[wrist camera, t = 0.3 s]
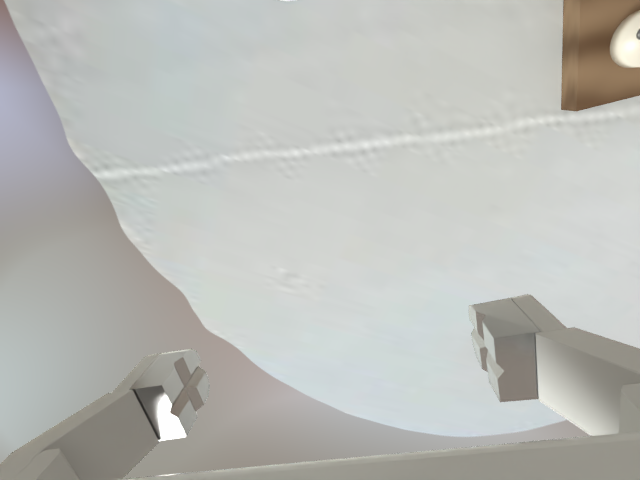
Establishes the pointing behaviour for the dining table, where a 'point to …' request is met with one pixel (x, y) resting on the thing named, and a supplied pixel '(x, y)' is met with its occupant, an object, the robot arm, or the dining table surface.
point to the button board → (594, 54)
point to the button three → (627, 42)
